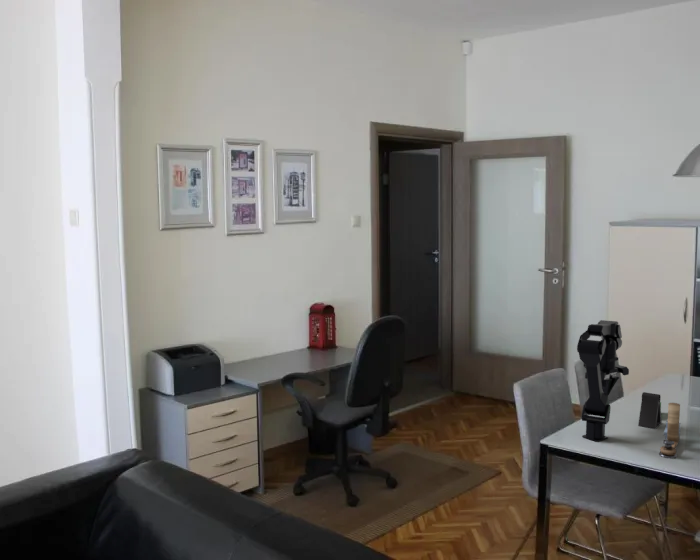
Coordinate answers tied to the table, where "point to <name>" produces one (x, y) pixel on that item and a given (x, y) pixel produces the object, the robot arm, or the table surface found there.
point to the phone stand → (650, 411)
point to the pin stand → (668, 445)
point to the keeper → (666, 430)
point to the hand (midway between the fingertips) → (606, 395)
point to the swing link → (672, 428)
